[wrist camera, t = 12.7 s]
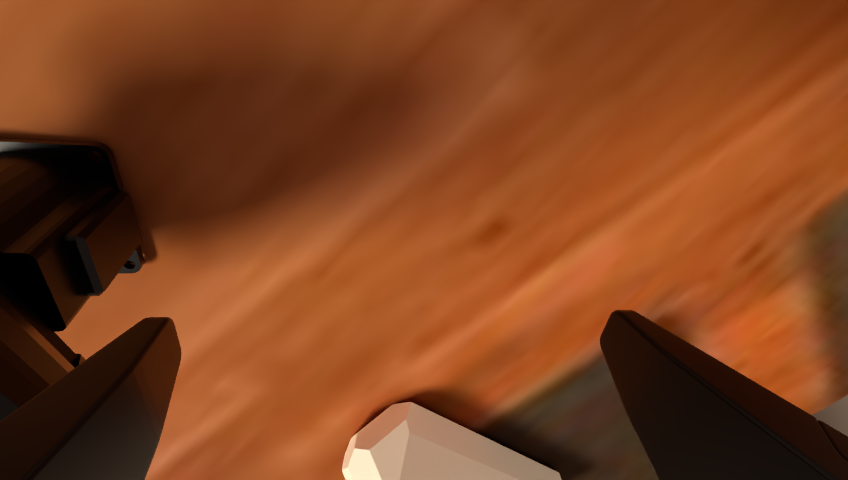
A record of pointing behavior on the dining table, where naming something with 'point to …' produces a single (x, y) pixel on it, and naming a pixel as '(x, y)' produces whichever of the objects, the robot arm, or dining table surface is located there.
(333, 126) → the dining table surface
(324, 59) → the dining table surface
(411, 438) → the crystal
